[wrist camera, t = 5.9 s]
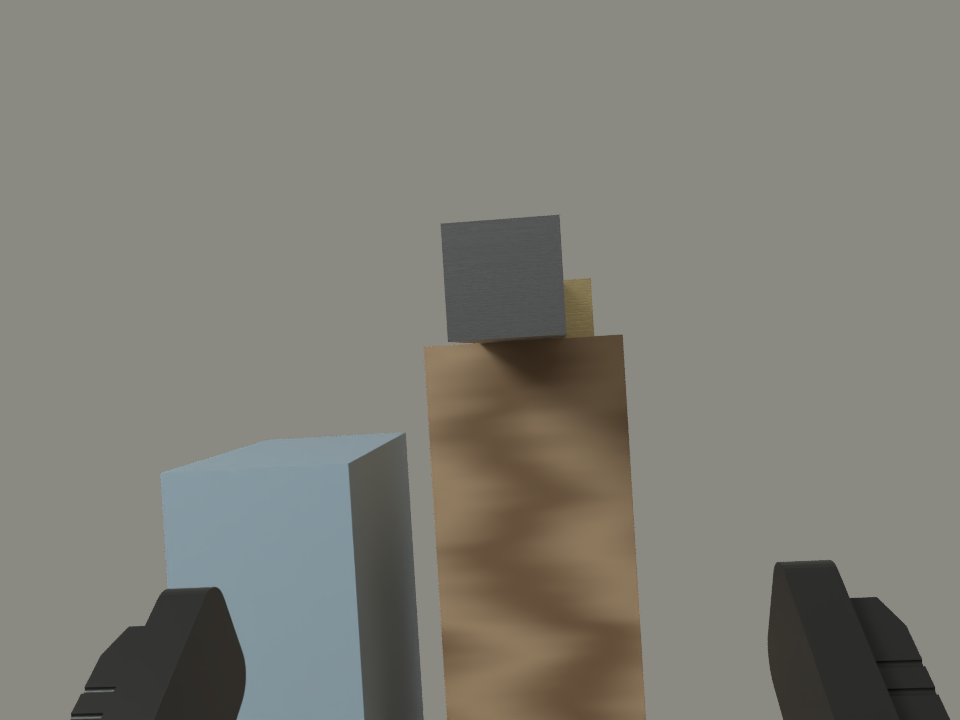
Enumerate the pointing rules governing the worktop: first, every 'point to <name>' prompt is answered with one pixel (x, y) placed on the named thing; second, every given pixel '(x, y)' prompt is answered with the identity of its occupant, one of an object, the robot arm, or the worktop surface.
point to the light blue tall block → (307, 571)
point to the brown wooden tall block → (535, 530)
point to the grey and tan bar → (511, 283)
